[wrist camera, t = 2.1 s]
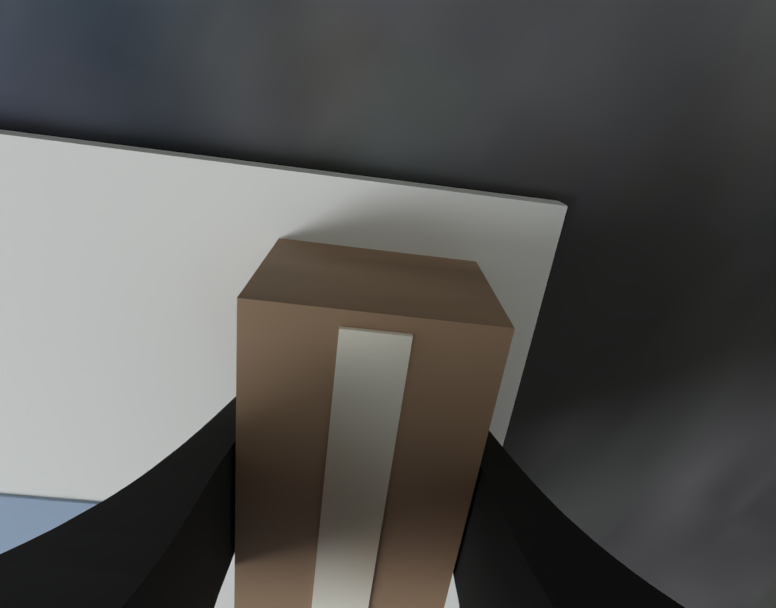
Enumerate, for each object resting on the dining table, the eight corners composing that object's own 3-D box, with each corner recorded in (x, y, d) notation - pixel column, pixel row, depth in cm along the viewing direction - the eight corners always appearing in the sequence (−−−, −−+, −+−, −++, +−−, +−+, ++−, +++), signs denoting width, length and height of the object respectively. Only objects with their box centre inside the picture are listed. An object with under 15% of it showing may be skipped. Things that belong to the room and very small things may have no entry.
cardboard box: (417, 545, 15) (428, 676, 11) (266, 533, 14) (232, 663, 11) (476, 261, 11) (516, 331, 8) (278, 238, 11) (234, 300, 8)
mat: (424, 712, 19) (425, 734, 18) (-121, 681, 18) (-140, 703, 17) (558, 200, 11) (569, 207, 11) (-387, 79, 10) (-440, 78, 9)
